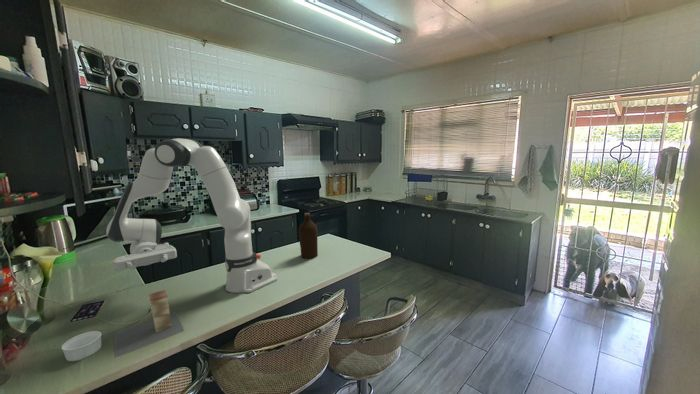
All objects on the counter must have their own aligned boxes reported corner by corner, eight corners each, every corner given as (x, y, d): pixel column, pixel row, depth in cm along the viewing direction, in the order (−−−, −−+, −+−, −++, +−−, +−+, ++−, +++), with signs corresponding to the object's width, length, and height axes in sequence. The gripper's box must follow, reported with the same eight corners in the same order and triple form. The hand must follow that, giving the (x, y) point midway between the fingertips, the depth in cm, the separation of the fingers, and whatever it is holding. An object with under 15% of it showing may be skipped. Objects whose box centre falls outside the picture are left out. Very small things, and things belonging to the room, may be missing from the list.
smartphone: (67, 323, 101) (82, 304, 114) (67, 324, 101) (82, 305, 114) (94, 317, 104) (106, 299, 117) (95, 318, 104) (106, 300, 117)
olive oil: (317, 259, 155) (315, 215, 151) (298, 259, 155) (295, 215, 151) (319, 252, 165) (317, 211, 161) (302, 252, 166) (299, 211, 162)
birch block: (169, 321, 100) (164, 289, 98) (171, 326, 96) (167, 294, 95) (154, 326, 97) (149, 294, 95) (156, 332, 93) (150, 299, 92)
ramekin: (69, 349, 87) (67, 337, 86) (106, 339, 92) (104, 327, 91) (59, 367, 80) (56, 354, 79) (99, 355, 84) (97, 342, 83)
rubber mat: (175, 312, 106) (175, 311, 106) (184, 331, 94) (184, 330, 94) (113, 333, 94) (113, 332, 94) (115, 358, 82) (115, 357, 82)
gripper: (111, 253, 109) (112, 263, 99) (172, 241, 122) (178, 249, 112) (113, 268, 110) (114, 279, 100) (173, 255, 123) (180, 264, 113)
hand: (149, 263), depth 106 cm, fingers open, 8 cm apart
